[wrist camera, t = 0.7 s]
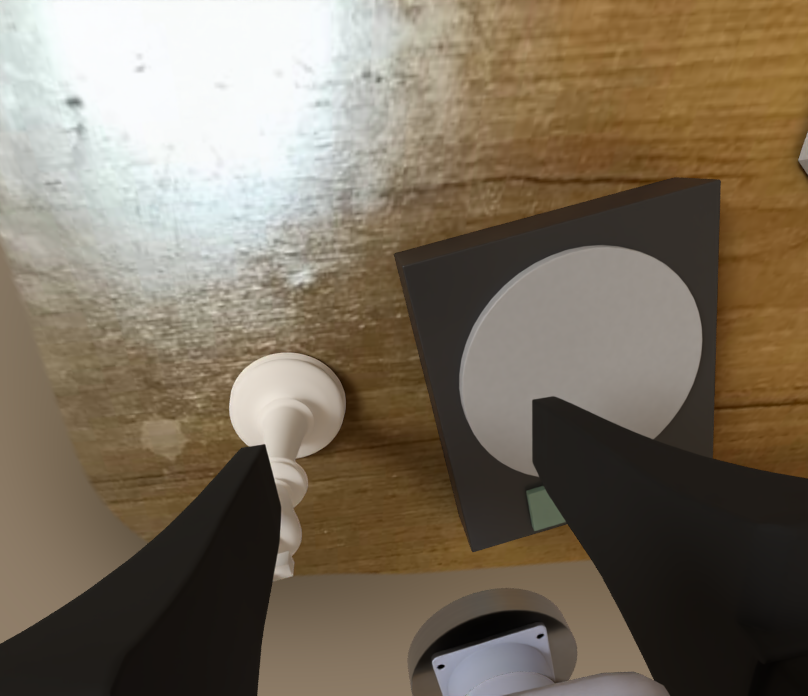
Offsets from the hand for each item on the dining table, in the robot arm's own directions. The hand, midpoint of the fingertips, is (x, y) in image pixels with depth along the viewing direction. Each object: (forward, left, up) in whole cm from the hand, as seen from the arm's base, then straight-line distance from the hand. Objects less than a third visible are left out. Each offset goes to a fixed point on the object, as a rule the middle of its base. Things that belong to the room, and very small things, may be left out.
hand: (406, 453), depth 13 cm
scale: (-3, -8, -8) cm, 12 cm away
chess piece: (-2, +4, -8) cm, 10 cm away
